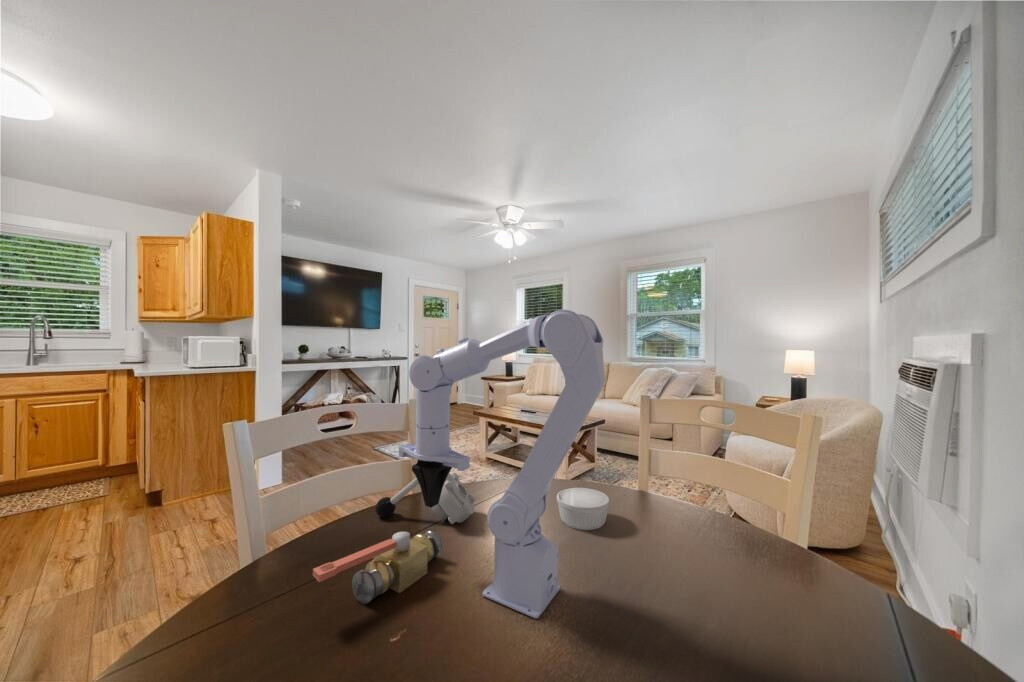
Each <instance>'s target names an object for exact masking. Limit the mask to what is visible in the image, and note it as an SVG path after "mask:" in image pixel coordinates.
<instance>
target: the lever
mask: <svg viewBox="0 0 1024 682" xmlns="http://www.w3.org/2000/svg"><path fill="white" fill-rule="evenodd" d="M410 539H411V533H410V532H408V531H398V532H395V533H393V535H392V536H391V538H388V539H386V540H384V541H380V542H379V543H376V544H373V545H371V546H369V547H366V548H364V549H362V550H359V551H356V552H355V553H352V554H349V555H347V556H345V557H341V558H339V559H337V560H334V561H332V562H331V561H329V562H327V563H324V564H321V565H320V566H317V567H314V568H312V576H313V578H315V580H316V581H317V582H318V583H320V582H323V581H325V580H327V579H330V578H332V577H335V576H336V575H338V574H339V573H340V572H343V571H345V570H347V569H350V568H352V567H354V566H357V565H359V564H361V563H364V562H366V561H369V560H371V559H374V557H376V556H378V555H380V554H383V553H385V552H387V551H389V550H392V549H393V550H394V551H405V550H407V549H408V548H409V547H410Z"/></svg>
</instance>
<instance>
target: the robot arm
mask: <svg viewBox="0 0 1024 682" xmlns="http://www.w3.org/2000/svg"><path fill="white" fill-rule="evenodd" d="M457 342H458V344H455V345H453V346H451V347H449V348H446V349H445V348H440V349H437V350H436V353H435V354H434V355H426V354H425V355H424V354H423V355H420V356H418V358H416V359H414V360H413V362H412V363H411V365H410V368H409V371H408V373H409V374H408V375H409V380H410V382H411V385H412V386H413V387H414V388H415V390H416V392H415V393H416V394H415V395H416V397H415V398H416V402H415V409H416V410H415V411H416V412H415V444H410V443H405V444H403V445H402V444H401V445H399V446H398V457H399V458H410V459H413V460H417V462H416V463H415V464H413V465H411V471H412V472H413V474H414V476H415V478H417V480H418V482H419V484H418V485H419V487H420V491H421V493H422V494H421V495H422V497H423V502H424V505H425V507H428V508H431V507H433V506H435V505H437V504H439V500H440V496H441V492H442V488H443V485H444V483H445V480H446V478H447V476H448V474H450V471H451V470H452V469H457V471H459V472H464V471H466V470H468V469H470V456H469V455H465V454H462V453H459V452H457V451H455V450H453V449H452V446H451V444H450V439H451V438H450V434H451V433H450V430H451V429H450V428H451V426H450V424H451V395H452V388H453V385H454V384H455V383H456V382H459V381H462V380H464V379H465V380H466V379H467V378H470V377H473V376H475V375H478V374H481V373H483V372H485V371H486V370H487V369H488V367H489V364H490V362H491V361H493V360H496V359H498V358H501V357H504V356H507V355H510V354H514V353H516V352H520V351H523V350H525V349H528V348H530V347H532V348H533V347H534V348H539V349H540V348H541V349H543V348H545V349H546V350H548V352H549V353H550V355H552V357H553V359H555V360H556V362H557V363H558V364H559V366H560V369H561V371H562V374H563V377H564V379H565V385H564V387H563V389H562V391H561V393H560V394H559V396H558V398H557V400H556V402H555V404H554V406H553V408H552V410H551V412H550V414H549V415H548V417H547V420H546V421H545V423H544V425H543V426H542V429H541V430H540V433H539V434H538V436H537V438H536V441H535V442H534V445H532V448H531V450H530V451H529V454H528V455H527V457H526V459H525V461H524V463H523V464H522V467H521V469H520V470H519V473H518V474H517V475H516V476H515V478H514V479H512V482H511V483H510V485H509V486H508V487H507V489H506V490H505V492H504V493H503V495H502V497H500V498H499V499H497V500H496V501H494V502H493V503H492V504H491V505H490V507H489V509H488V511H487V525H488V529H489V531H490V532H491V533H492V535H493V536H494V557H493V558H494V561H493V563H494V568H493V570H494V571H493V572H494V573H493V575H494V577H493V578H494V580H493V581H492V582H491V583H490V584H489V585H488V586H487V587H486V588H485V589H484V590H483V591H482V596H483V597H484V598H487V599H489V600H491V601H494V602H496V603H499V604H500V605H503V606H506V607H508V608H510V609H513V610H514V611H517V612H520V613H522V614H523V615H527V616H529V617H531V618H533V619H538V618H540V616H541V615H542V613H544V611H545V609H546V608H547V607H548V606H549V604H550V603H551V601H552V600H553V599H554V598H555V596H556V595H557V594H558V592H559V591H560V590H561V587H560V585H559V548H558V545H557V543H556V542H554V541H551V540H550V539H548V538H547V537H546V536H545V535H544V534H543V533H542V526H541V522H540V517H541V516H543V514H544V513H545V511H546V508H547V499H548V494H549V491H550V489H551V488H552V485H551V483H552V481H553V480H554V478H555V476H556V474H557V472H558V471H559V468H560V467H561V465H562V463H563V461H564V459H565V457H567V455H568V452H569V451H570V449H571V447H572V445H573V443H574V441H575V440H576V438H577V436H578V434H579V432H580V430H581V429H582V426H583V424H584V423H585V422H586V419H587V418H588V416H589V414H590V412H591V411H592V408H594V405H595V402H596V401H597V399H598V397H599V395H600V394H601V392H602V390H603V388H604V386H605V383H606V378H605V377H606V375H605V363H604V352H603V351H604V350H603V349H604V338H603V336H602V334H601V332H600V330H599V327H598V325H597V323H596V322H595V321H594V320H593V319H592V318H591V317H590V316H588V315H585V314H581V313H580V314H579V313H576V312H575V311H572V310H570V309H558V310H555V311H553V312H551V313H550V314H543V315H538V316H536V317H534V318H531V319H530V320H527V321H525V322H522V323H521V324H519V325H516V326H514V327H512V328H510V329H508V330H506V331H504V332H502V333H499V334H497V335H494V336H492V337H491V338H489V339H486V340H484V341H483V342H481V341H480V340H478V339H475V338H469V337H463V338H460V339H458V341H457Z"/></svg>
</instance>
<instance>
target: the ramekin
mask: <svg viewBox="0 0 1024 682" xmlns="http://www.w3.org/2000/svg"><path fill="white" fill-rule="evenodd" d="M556 502H557V505H558V511H559V512H558V513H559V517H560V520H561V521H562V522H563V524H564V525H566V526H567V527H570V528H572V529H574V530H580V531H594V530H598V529H600V528H601V527H603V526H604V525H605V523H606V520H607V515H608V510H609V509H608V508H609V507H610V498H609V496H608V495H607V494H605V493H604V492H602V491H599V490H597V489H592V488H587V487H570V488H565V489H562V490H560V491H559V492H557V494H556Z"/></svg>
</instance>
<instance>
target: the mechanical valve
mask: <svg viewBox="0 0 1024 682" xmlns="http://www.w3.org/2000/svg"><path fill="white" fill-rule="evenodd" d="M459 479H460V477H459V474H457V473H456V472H454V473H449V474H448V476H447V478H446V480H445V483H444V485H443V488H442V492H441V496H440V500H439V504H437V505H435V506H433V507H430V508H431V510H432V512H433V513H434V515H435V516H436V517H437V518H438V519H439V520H440V521H443V522H445V521H446V520H447V519H448V521H449V523H450V524H451V525H454V524H455V523H464V521H465V520H467V519H468V518H469V517H470V516H471V515H472V514H474V512H475V505H474V502H475V501H476V498H475V496H474V495H473V494H472V493H469V492H468V489H466V487H465V486H464V485H463V484H462V482H461V481H460V480H459ZM418 485H419V482H418V480H417V478H416V477H415V478H414V479H413V480H411V481H410V482H409V483H408V484H407V485H405V486H404V487H403V488H401V490H400V491H398V492H397V493H396V494H394V495H393V496H392V497H389V496H386V497H385V496H384V497H382V498H380V499H379V500H378V501H377V503H376V505H375V512H376V515H378V516H379V517H380V518H383V519H386V518H390V517H391V516H392V515H393V514H394V512H395V511H396V504H397V503H398V502H399V501H400V500H401V499H403V498H404V497H405V496H406V495H407V494H409V493H410V492H411V491H412V490H413V489H415V488H416V487H417V486H418ZM388 501H390V502H388ZM386 502H388V503H386ZM383 503H384V504H383ZM377 505H378V506H377Z"/></svg>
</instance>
